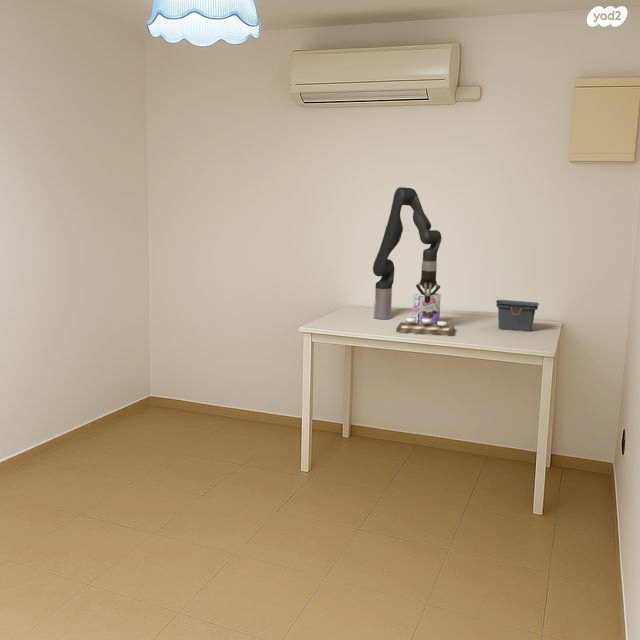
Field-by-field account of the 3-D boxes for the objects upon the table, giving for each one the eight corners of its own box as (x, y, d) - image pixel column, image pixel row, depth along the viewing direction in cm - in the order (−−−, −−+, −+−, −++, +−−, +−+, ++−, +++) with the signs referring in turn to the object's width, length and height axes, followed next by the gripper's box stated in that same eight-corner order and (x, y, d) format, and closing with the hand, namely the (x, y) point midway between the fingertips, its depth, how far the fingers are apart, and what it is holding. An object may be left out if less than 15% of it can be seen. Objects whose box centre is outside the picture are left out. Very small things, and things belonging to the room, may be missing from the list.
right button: (436, 326, 343) (437, 322, 343) (437, 324, 348) (437, 320, 348) (446, 326, 342) (446, 322, 342) (447, 325, 347) (447, 321, 346)
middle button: (421, 323, 345) (421, 319, 345) (422, 321, 350) (422, 318, 349) (430, 323, 344) (430, 320, 344) (431, 322, 348) (431, 318, 348)
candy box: (417, 325, 362) (418, 294, 359) (412, 323, 367) (413, 293, 364) (439, 323, 367) (441, 293, 364) (434, 321, 372) (435, 292, 369)
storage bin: (536, 328, 356) (538, 301, 353) (536, 333, 341) (538, 306, 339) (495, 325, 362) (497, 299, 360) (493, 330, 348) (495, 303, 345)
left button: (405, 322, 347) (405, 318, 347) (406, 320, 352) (406, 317, 351) (415, 323, 346) (415, 319, 345) (416, 321, 350) (416, 317, 350)
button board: (396, 332, 340) (396, 327, 340) (400, 326, 356) (400, 321, 355) (452, 336, 334) (452, 330, 333) (454, 330, 349) (454, 324, 348)
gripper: (442, 269, 344) (440, 302, 348) (416, 268, 347) (414, 301, 351) (441, 271, 337) (439, 305, 341) (415, 269, 340) (413, 303, 344)
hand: (427, 303), depth 346 cm, fingers closed
